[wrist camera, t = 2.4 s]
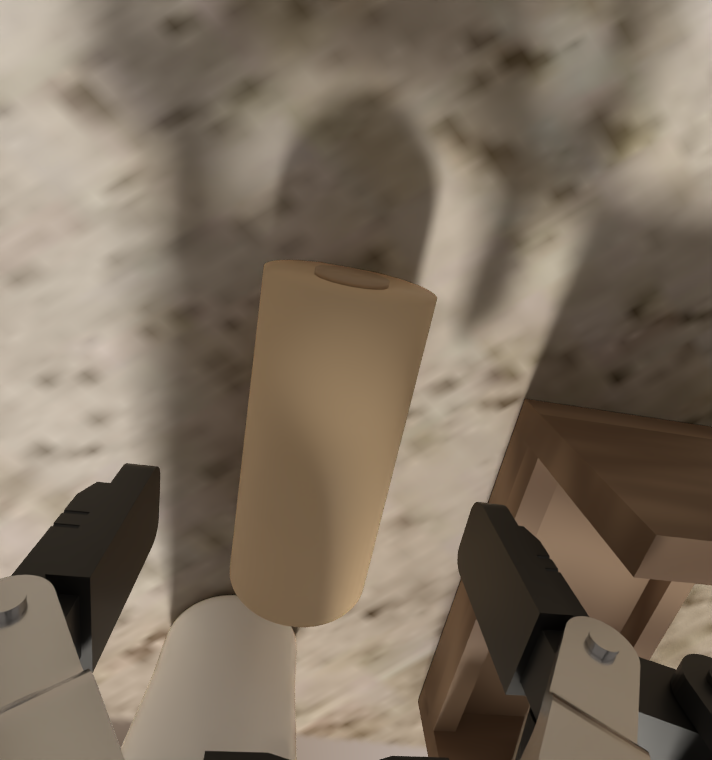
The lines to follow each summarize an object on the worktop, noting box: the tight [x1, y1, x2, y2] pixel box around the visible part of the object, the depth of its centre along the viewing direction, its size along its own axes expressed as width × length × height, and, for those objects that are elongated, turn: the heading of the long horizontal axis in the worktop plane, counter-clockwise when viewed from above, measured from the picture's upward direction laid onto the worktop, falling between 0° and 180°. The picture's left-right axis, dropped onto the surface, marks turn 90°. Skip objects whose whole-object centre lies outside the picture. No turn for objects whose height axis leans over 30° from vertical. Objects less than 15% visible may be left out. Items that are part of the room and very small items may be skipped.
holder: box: [418, 399, 712, 760], centre depth 17 cm, size 16×8×7 cm, turn 169°
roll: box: [230, 260, 437, 627], centre depth 14 cm, size 10×5×5 cm, turn 169°
